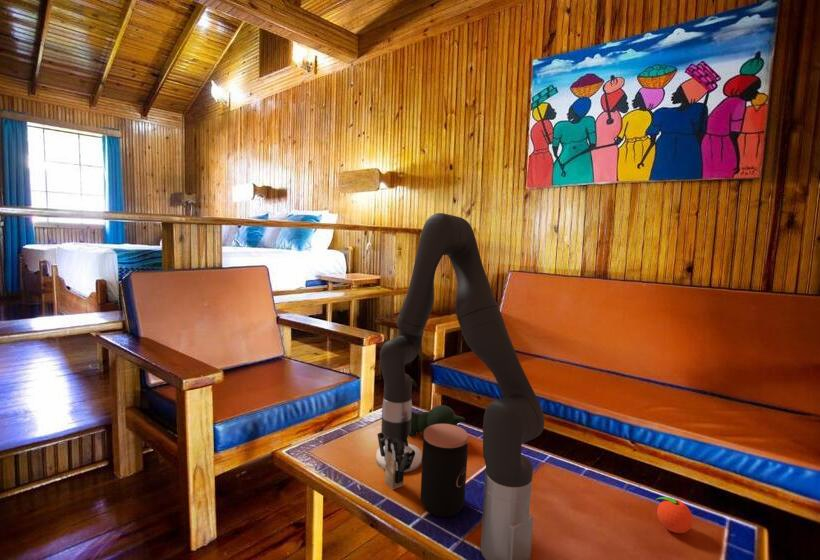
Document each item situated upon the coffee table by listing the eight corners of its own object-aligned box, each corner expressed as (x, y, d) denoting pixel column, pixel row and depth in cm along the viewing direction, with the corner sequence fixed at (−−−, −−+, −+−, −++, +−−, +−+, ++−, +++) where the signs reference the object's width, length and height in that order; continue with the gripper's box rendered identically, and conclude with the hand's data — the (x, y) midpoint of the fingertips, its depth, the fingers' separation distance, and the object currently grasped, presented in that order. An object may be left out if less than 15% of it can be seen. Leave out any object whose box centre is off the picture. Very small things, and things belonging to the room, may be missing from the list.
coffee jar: (462, 522, 99) (466, 447, 96) (416, 514, 101) (419, 440, 98) (465, 494, 109) (470, 426, 107) (424, 487, 111) (427, 420, 109)
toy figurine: (388, 437, 141) (460, 452, 128) (385, 379, 139) (458, 389, 127) (402, 426, 149) (471, 439, 137) (400, 372, 147) (469, 380, 135)
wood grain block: (403, 485, 112) (404, 452, 111) (392, 489, 110) (393, 456, 109) (395, 478, 114) (396, 446, 113) (384, 483, 112) (386, 450, 111)
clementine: (646, 526, 100) (649, 497, 99) (655, 513, 105) (659, 485, 104) (686, 545, 94) (690, 514, 93) (694, 530, 99) (698, 501, 98)
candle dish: (430, 463, 123) (431, 451, 122) (393, 477, 115) (393, 465, 114) (403, 444, 133) (404, 433, 133) (367, 456, 125) (367, 444, 125)
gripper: (425, 421, 106) (422, 487, 109) (392, 402, 118) (390, 461, 120) (401, 429, 102) (398, 497, 104) (369, 408, 113) (367, 470, 115)
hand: (394, 478), depth 112 cm, fingers closed on wood grain block, 3 cm apart
